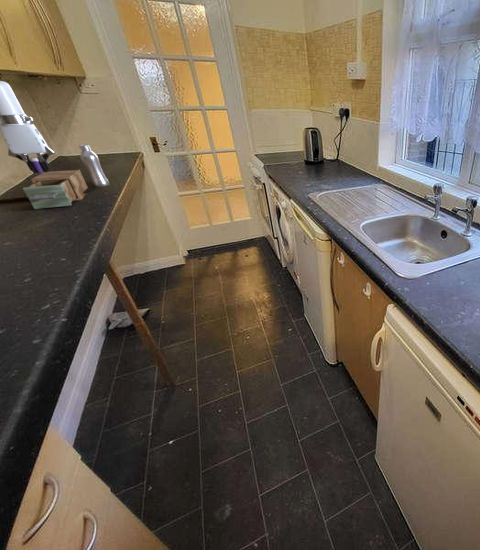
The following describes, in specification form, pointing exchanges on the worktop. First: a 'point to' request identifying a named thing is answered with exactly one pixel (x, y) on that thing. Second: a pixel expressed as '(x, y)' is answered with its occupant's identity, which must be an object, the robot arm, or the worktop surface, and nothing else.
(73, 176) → the cabinet
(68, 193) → the drawer
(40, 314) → the worktop surface
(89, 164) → the silver metal bottle
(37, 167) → the glue stick
